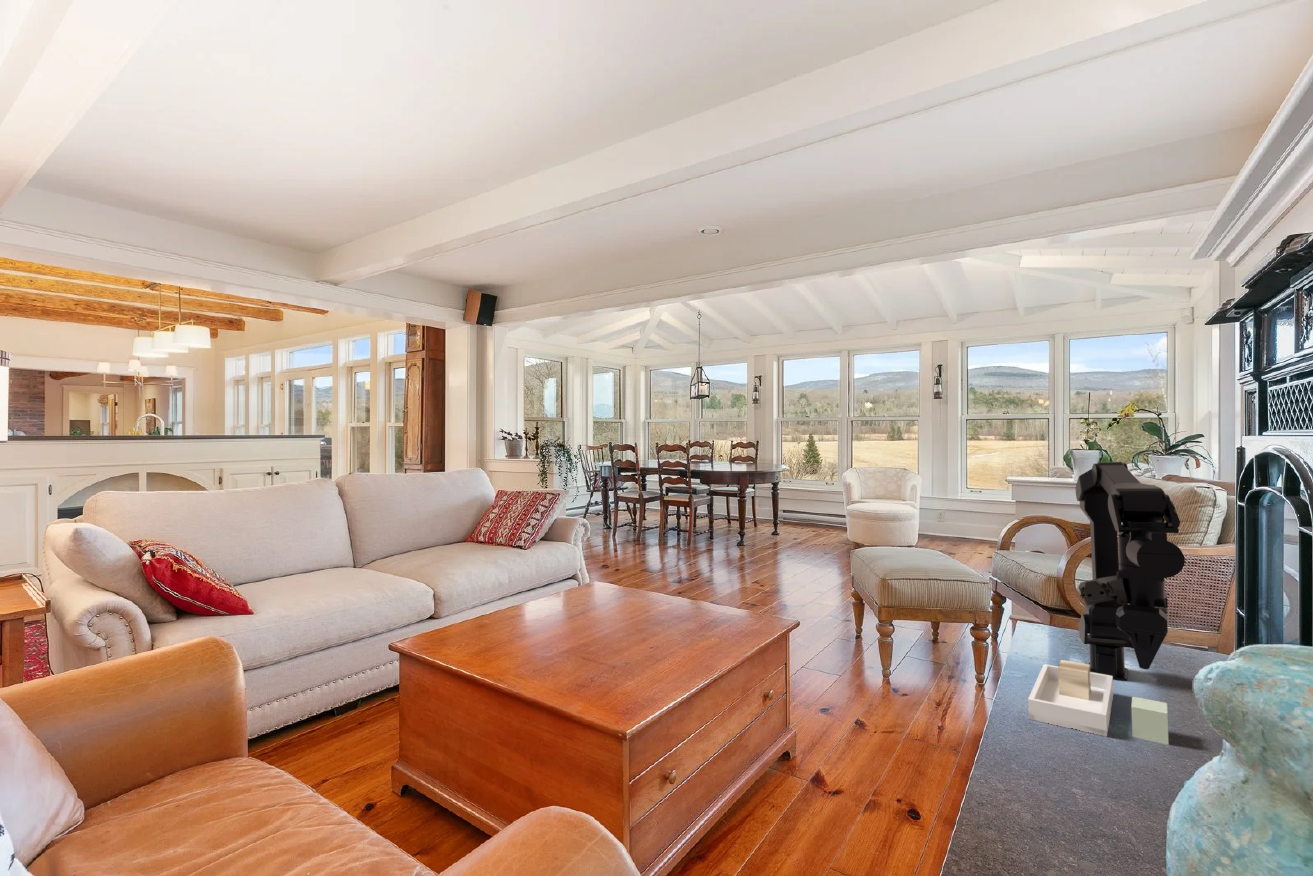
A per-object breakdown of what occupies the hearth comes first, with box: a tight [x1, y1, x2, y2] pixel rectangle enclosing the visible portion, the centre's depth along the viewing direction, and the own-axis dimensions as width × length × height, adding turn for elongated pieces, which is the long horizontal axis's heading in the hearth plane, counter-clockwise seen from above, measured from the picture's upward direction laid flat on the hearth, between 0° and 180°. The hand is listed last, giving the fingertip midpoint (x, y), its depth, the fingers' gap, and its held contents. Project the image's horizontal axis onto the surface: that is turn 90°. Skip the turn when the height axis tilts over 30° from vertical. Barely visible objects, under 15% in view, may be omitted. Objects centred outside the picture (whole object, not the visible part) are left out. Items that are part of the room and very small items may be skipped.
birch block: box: [1058, 659, 1091, 700], centre depth 114 cm, size 4×4×5 cm
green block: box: [1130, 696, 1170, 746], centre depth 100 cm, size 4×4×5 cm
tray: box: [1027, 663, 1114, 737], centre depth 111 cm, size 19×11×4 cm, turn 141°
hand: (1144, 659), depth 100 cm, fingers open, 9 cm apart
